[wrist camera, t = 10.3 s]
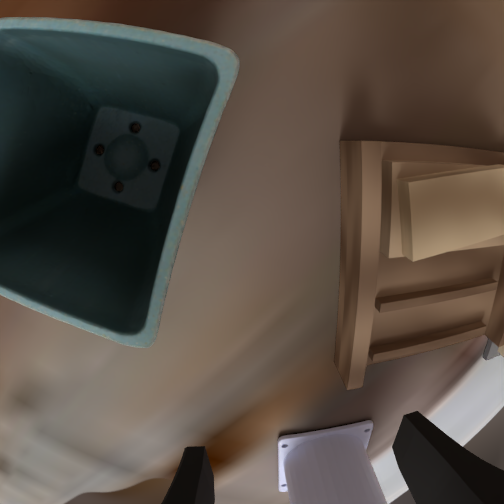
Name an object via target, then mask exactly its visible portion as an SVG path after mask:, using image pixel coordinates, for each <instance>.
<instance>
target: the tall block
mask: <svg viewBox="0 0 504 504" xmlns="http://www.w3.org/2000/svg"><path fill="white" fill-rule="evenodd" d="M498 352H499V353H500V354H501V355H502V356H503V357H504V345H503V346H501V347H499V348H498Z"/></svg>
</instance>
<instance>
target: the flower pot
mask: <svg viewBox="0 0 504 504" xmlns="http://www.w3.org/2000/svg"><path fill="white" fill-rule="evenodd" d="M239 66H240V62H239V58H238V56H237V55H236V53H235V52H234V51H233V50H231V49H230V48H227V47H225V46H222V45H220V44H217V43H213V42H210V41H207V40H201V39H196V38H192V37H189V36H185V35H180V34H174V33H169V32H166V31H161V30H154V29H148V28H143V27H137V26H130V25H125V24H118V23H107V22H100V21H91V20H80V19H62V18H46V17H40V18H39V17H6V18H0V295H2V296H4V297H6V298H8V299H10V300H13V301H15V302H17V303H20V304H22V305H23V306H26V307H28V308H30V309H33V310H35V311H38V312H40V313H42V314H45V315H47V316H50V317H52V318H55V319H57V320H60V321H62V322H65V323H68V324H71V325H73V326H75V327H78V328H80V329H83V330H86V331H88V332H91V333H94V334H97V335H99V336H102V337H104V338H106V339H109V340H113V341H115V342H117V343H120V344H123V345H127V346H132V347H137V348H148V347H150V346H151V345H152V344H153V343H154V341H155V339H156V336H157V333H158V329H159V325H160V319H161V313H162V310H163V305H164V301H165V297H166V294H167V289H168V285H169V281H170V278H171V273H172V269H173V265H174V262H175V258H176V255H177V251H178V247H179V243H180V240H181V237H182V233H183V230H184V226H185V223H186V220H187V217H188V213H189V209H190V206H191V203H192V200H193V197H194V194H195V191H196V187H197V184H198V181H199V178H200V175H201V172H202V169H203V166H204V163H205V160H206V157H207V154H208V151H209V148H210V146H211V143H212V140H213V137H214V135H215V132H216V129H217V126H218V123H219V121H220V119H221V116H222V113H223V110H224V108H225V106H226V103H227V101H228V99H229V97H230V94H231V91H232V89H233V86H234V84H235V81H236V78H237V75H238V72H239ZM135 123H137V124H139V125H140V130H139V131H138V132H137V133H134V132H132V131H131V126H132V125H133V124H135ZM99 145H102V146H103V147H104V153H103V154H102V155H98V154H96V147H97V146H99ZM153 161H158V162H159V164H160V167H159V169H158V170H156V171H154V170H152V169H151V167H150V165H151V163H152V162H153ZM117 182H121V183H122V184H123V190H122V191H120V192H118V191H116V190H115V188H114V185H115V184H116V183H117Z"/></svg>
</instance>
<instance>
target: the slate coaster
mask: <svg viewBox="0 0 504 504" xmlns="http://www.w3.org/2000/svg"><path fill="white" fill-rule="evenodd" d="M498 348H499V347H498V346H497V345H496V344H494V343H493V342H492V341H491V340H490V339H488V343H487V346H486V349H485V352H484V354H483V358H484V359H485V360H489V359H491V358H494V357H496V356H499V355H501V354H500V353H499V352H498Z"/></svg>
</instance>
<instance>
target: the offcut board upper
mask: <svg viewBox="0 0 504 504" xmlns="http://www.w3.org/2000/svg"><path fill="white" fill-rule="evenodd" d="M397 189H398V199H399V211H400V225H401V243H402V254H403V255H404V256H406V257H407V258H408V259H410V260H411V261H413V262H414V261H417V260H421V259H424V258H428V257H431V256H435V255H438V254H442V253H445V252H449V251H452V250H455V249H459V248H462V247H465V246H469V245H472V244H475V243H479V242H482V241H485V240H488V239H491V238H495V237H498V236H501V235H504V165H501V164H497V165H489V166H482V167H474V168H467V169H460V170H453V171H446V172H440V173H433V174H427V175H420V176H414V177H408V178H402V179H397Z"/></svg>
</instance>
